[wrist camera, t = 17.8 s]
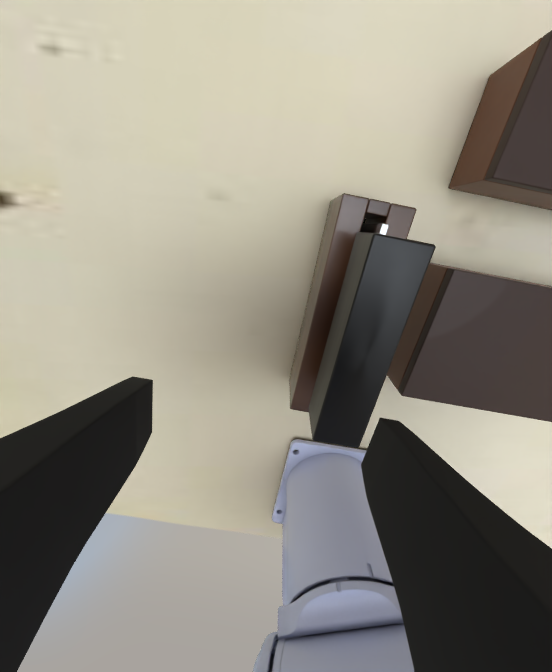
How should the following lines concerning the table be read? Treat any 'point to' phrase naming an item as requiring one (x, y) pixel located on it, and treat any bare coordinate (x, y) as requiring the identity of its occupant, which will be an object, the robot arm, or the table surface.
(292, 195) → the table surface
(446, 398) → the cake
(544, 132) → the brown rectangular block
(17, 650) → the robot arm
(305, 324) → the knife block
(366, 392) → the bench scraper
